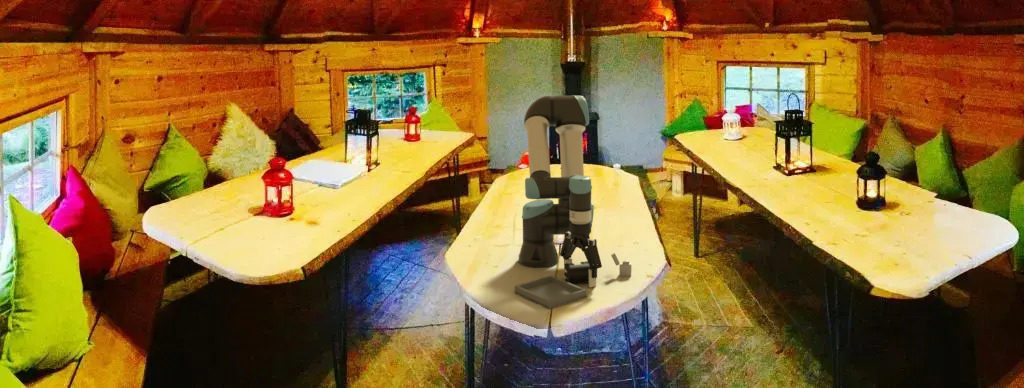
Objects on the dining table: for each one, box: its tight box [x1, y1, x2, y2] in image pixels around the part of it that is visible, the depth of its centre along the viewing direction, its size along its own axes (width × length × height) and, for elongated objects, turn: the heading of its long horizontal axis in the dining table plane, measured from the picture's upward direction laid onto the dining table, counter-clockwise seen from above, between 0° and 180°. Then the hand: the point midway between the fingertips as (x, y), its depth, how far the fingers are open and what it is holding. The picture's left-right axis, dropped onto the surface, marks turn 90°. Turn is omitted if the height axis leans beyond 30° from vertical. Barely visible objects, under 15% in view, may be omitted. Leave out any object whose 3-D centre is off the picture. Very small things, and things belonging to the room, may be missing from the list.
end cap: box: [563, 260, 594, 285], centre depth 247 cm, size 10×7×7 cm
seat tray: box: [514, 275, 588, 310], centre depth 236 cm, size 18×16×3 cm
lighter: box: [610, 252, 632, 277], centre depth 253 cm, size 7×2×8 cm, turn 83°
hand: (580, 281), depth 247 cm, fingers open, 12 cm apart
